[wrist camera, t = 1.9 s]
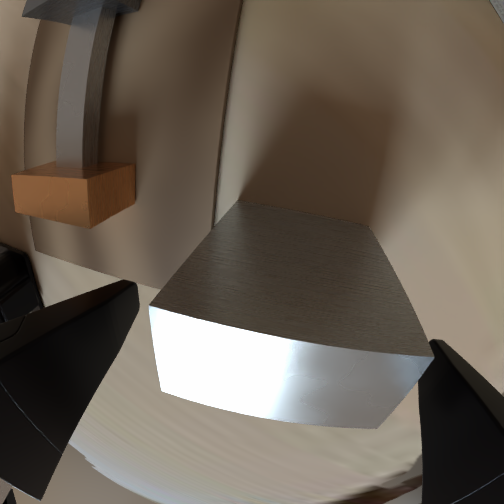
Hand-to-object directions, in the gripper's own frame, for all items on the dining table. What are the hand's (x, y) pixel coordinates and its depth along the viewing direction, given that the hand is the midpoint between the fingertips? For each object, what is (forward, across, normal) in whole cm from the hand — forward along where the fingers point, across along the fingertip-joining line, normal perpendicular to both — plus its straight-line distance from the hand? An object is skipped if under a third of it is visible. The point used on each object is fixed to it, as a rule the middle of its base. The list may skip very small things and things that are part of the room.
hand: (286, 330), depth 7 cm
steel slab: (+6, 0, 0) cm, 6 cm away
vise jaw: (+6, +11, -7) cm, 14 cm away
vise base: (+6, +11, -12) cm, 17 cm away
